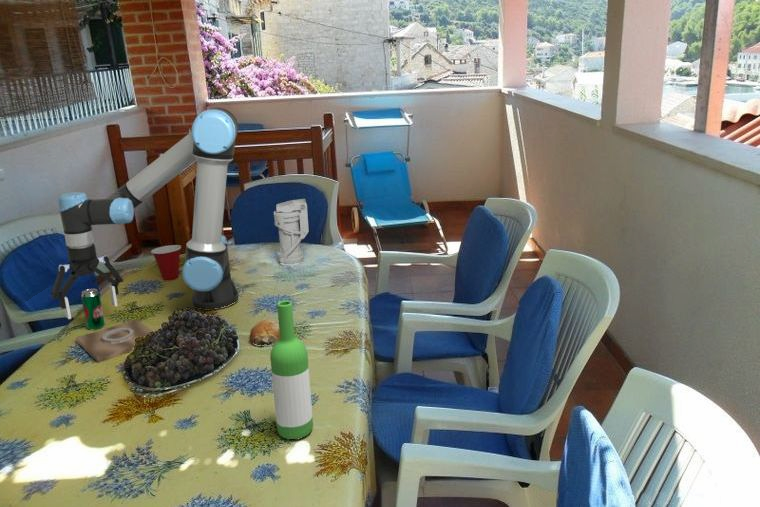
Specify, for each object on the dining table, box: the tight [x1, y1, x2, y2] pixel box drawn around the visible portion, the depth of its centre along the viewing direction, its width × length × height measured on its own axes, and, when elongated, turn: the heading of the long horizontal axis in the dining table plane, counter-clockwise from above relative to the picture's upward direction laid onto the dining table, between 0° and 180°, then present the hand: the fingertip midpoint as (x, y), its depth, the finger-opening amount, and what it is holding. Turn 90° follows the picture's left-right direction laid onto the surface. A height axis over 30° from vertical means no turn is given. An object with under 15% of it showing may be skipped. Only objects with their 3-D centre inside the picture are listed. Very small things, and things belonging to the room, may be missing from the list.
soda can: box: [80, 288, 106, 330], centre depth 184 cm, size 5×5×12 cm
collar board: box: [75, 319, 154, 363], centre depth 175 cm, size 18×18×2 cm
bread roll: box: [249, 318, 280, 346], centre depth 173 cm, size 10×10×8 cm
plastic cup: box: [150, 244, 182, 281], centre depth 225 cm, size 11×11×12 cm
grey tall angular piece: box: [273, 198, 310, 264], centre depth 237 cm, size 13×10×25 cm
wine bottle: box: [269, 300, 314, 440], centre depth 125 cm, size 8×8×30 cm
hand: (92, 311), depth 184 cm, fingers open, 13 cm apart
